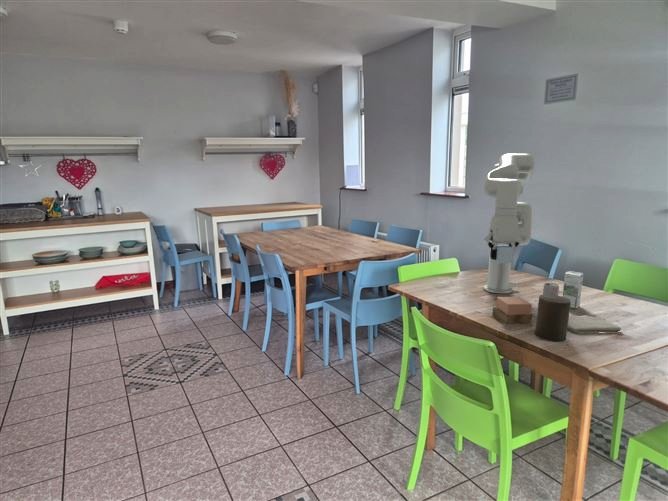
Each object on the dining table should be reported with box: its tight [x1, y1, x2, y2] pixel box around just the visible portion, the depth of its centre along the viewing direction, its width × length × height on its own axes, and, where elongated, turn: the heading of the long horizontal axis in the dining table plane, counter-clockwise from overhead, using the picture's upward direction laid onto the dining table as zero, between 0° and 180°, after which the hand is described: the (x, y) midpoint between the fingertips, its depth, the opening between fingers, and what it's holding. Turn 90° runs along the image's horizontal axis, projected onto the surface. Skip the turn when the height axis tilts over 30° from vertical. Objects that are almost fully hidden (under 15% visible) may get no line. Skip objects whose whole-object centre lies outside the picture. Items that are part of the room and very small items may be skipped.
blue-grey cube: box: [490, 245, 515, 264], centre depth 165 cm, size 6×6×6 cm
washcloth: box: [567, 314, 622, 334], centre depth 154 cm, size 12×18×3 cm, turn 94°
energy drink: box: [542, 282, 560, 296], centre depth 167 cm, size 5×5×12 cm
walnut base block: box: [492, 306, 533, 326], centre depth 162 cm, size 10×10×4 cm
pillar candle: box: [534, 293, 571, 343], centre depth 145 cm, size 10×10×15 cm
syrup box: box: [561, 270, 584, 310], centre depth 176 cm, size 6×6×14 cm
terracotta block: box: [495, 296, 533, 315], centre depth 161 cm, size 9×9×4 cm
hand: (501, 258), depth 165 cm, fingers closed on blue-grey cube, 6 cm apart
